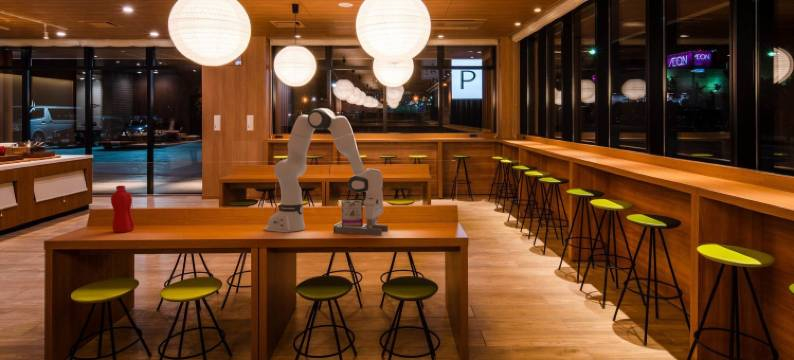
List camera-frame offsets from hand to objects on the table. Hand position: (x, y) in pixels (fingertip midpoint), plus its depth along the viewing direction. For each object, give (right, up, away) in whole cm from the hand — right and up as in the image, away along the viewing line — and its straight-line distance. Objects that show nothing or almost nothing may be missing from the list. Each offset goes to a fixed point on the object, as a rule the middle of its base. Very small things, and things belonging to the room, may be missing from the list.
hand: (374, 224), depth 281 cm
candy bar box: (-12, -4, +4) cm, 14 cm away
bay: (-8, -4, +3) cm, 9 cm away
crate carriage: (-11, -3, +3) cm, 12 cm away
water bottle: (-136, -4, +6) cm, 136 cm away
